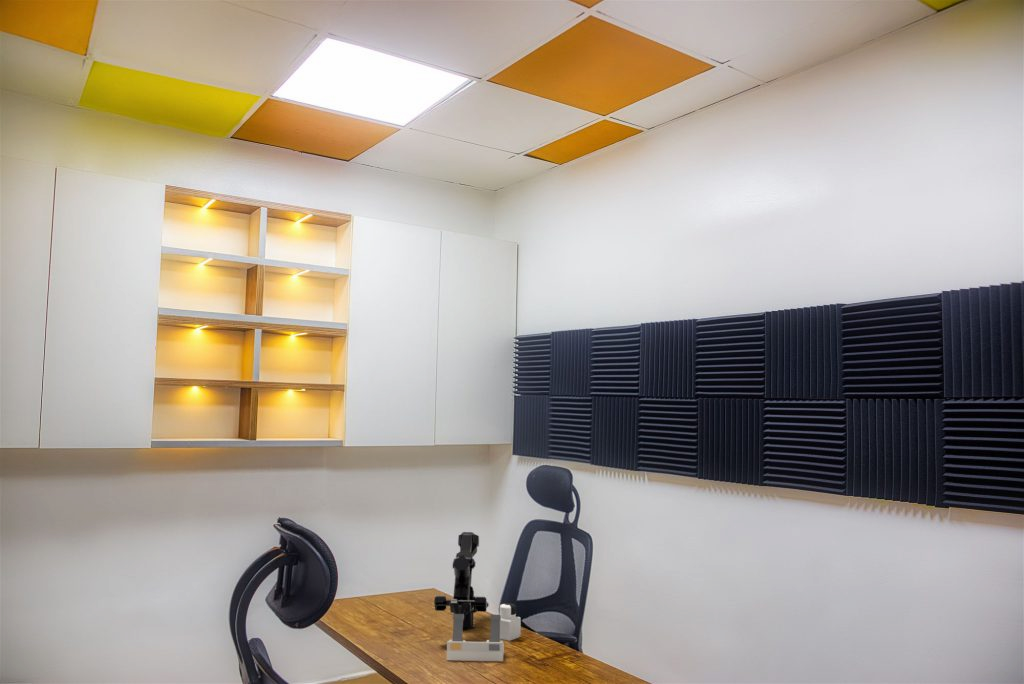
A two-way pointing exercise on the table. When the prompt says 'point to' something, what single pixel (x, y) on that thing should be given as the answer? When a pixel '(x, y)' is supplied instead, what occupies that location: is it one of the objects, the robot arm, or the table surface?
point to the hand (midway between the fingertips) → (458, 625)
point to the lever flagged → (458, 627)
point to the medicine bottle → (509, 622)
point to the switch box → (475, 651)
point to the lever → (495, 628)
